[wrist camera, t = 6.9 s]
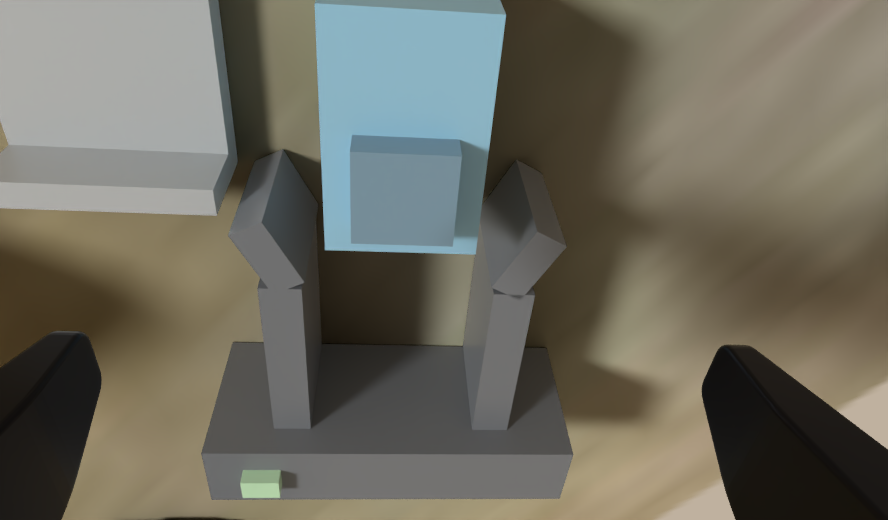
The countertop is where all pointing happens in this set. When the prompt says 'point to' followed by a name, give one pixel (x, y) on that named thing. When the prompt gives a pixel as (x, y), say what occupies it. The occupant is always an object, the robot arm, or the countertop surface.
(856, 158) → the countertop surface
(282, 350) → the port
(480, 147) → the light blue block
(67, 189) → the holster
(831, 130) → the countertop surface
